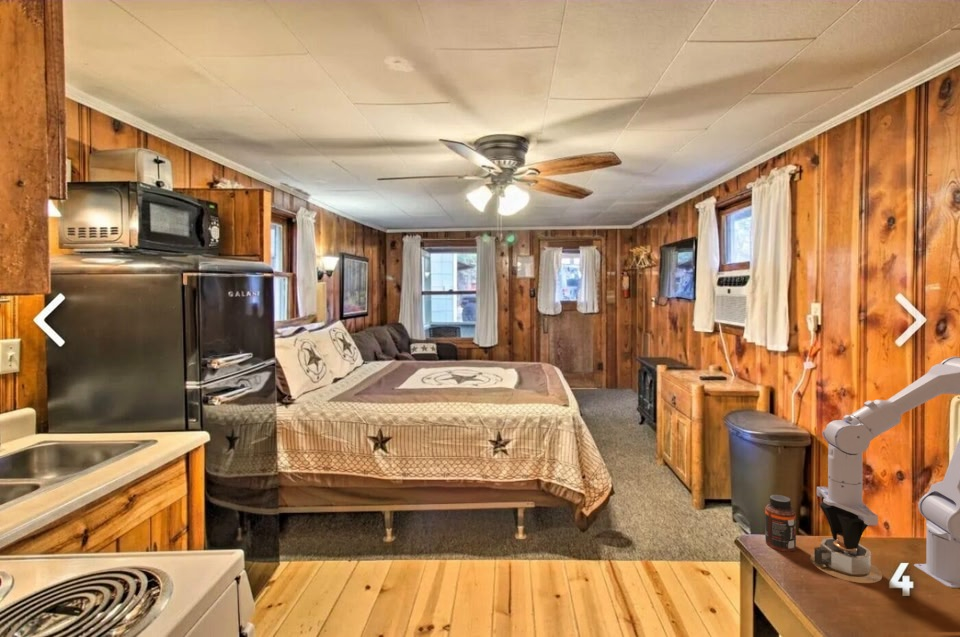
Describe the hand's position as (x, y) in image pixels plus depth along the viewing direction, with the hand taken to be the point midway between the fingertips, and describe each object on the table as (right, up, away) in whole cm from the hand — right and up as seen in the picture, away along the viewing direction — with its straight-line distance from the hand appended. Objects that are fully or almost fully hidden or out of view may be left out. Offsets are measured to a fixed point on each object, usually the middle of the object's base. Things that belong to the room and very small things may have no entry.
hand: (844, 543), depth 101 cm
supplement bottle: (-8, -5, +9) cm, 13 cm away
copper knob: (0, -4, 0) cm, 4 cm away
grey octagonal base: (0, -5, 0) cm, 5 cm away
